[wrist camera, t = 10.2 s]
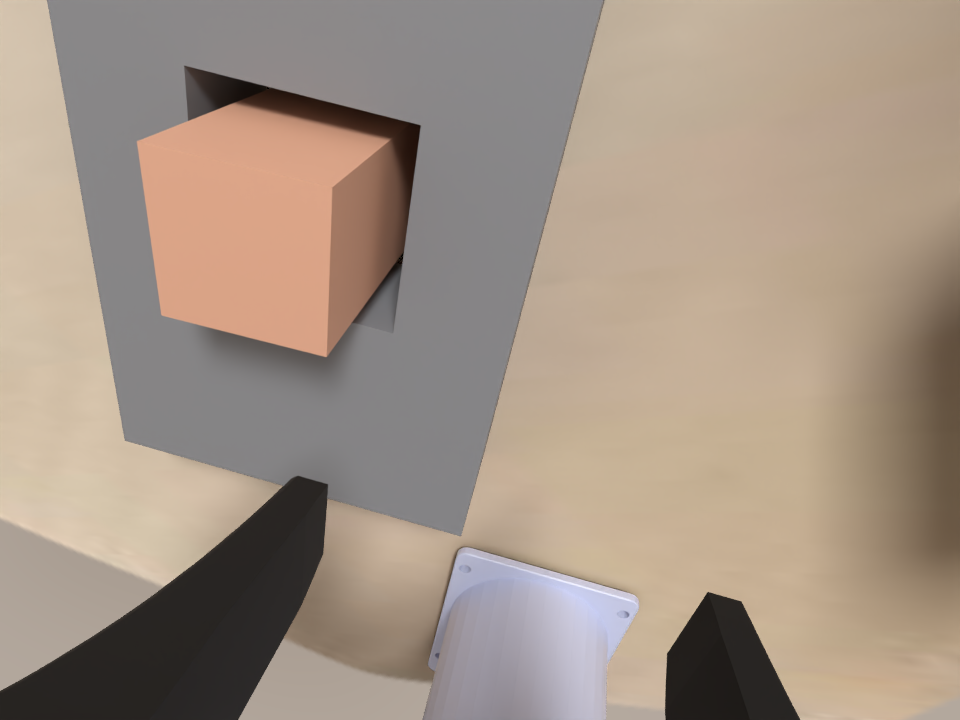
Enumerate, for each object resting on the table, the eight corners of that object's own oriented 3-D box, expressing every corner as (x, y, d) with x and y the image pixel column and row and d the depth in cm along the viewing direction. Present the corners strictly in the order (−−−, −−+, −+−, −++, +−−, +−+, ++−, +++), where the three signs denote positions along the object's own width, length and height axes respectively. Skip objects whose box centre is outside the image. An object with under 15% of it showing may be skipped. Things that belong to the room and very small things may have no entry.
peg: (411, 240, 20) (326, 357, 14) (292, 211, 20) (161, 315, 15) (426, 110, 18) (332, 187, 12) (291, 79, 18) (137, 141, 12)
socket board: (482, 457, 24) (460, 536, 21) (190, 375, 25) (124, 440, 22) (666, -233, 13) (681, -295, 10) (125, -351, 14) (-33, -447, 10)
